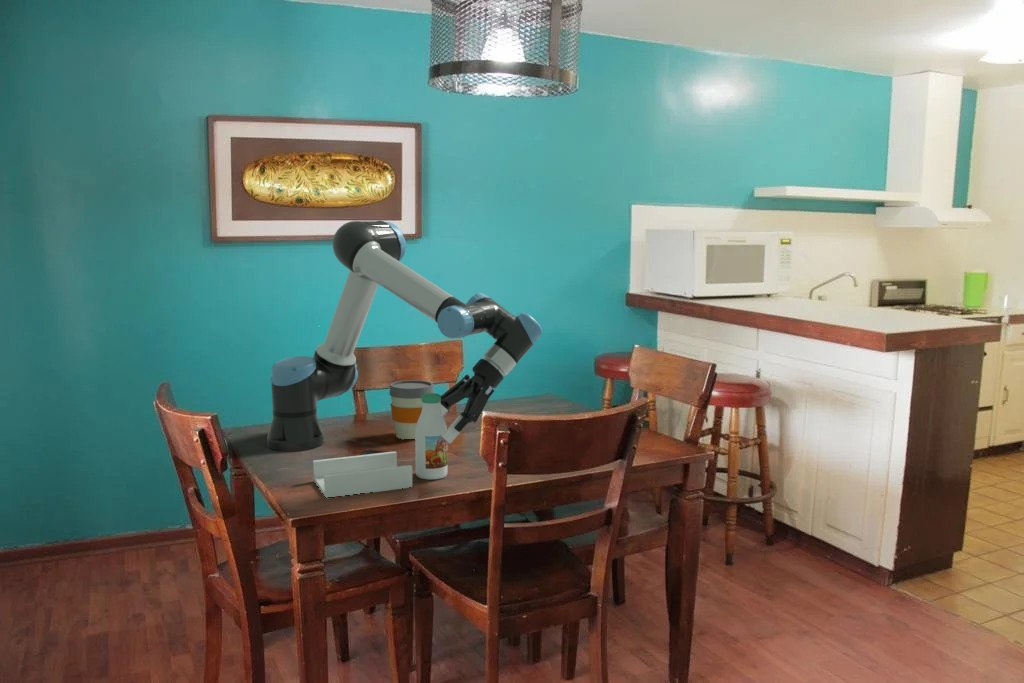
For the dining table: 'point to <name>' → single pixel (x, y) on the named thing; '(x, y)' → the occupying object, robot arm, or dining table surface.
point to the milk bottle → (431, 440)
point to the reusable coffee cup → (408, 405)
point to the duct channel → (361, 474)
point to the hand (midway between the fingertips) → (435, 433)
